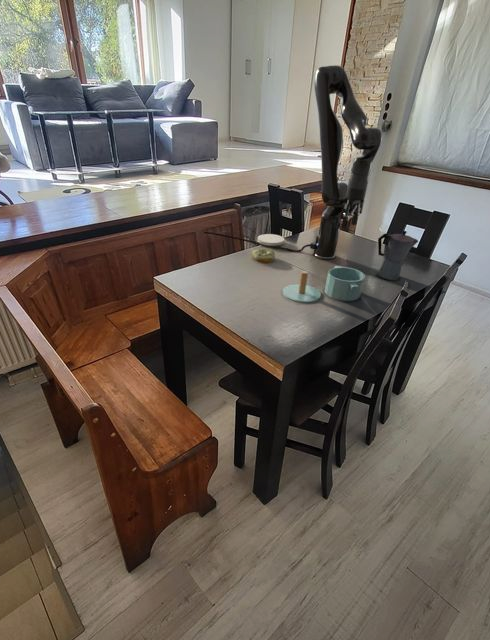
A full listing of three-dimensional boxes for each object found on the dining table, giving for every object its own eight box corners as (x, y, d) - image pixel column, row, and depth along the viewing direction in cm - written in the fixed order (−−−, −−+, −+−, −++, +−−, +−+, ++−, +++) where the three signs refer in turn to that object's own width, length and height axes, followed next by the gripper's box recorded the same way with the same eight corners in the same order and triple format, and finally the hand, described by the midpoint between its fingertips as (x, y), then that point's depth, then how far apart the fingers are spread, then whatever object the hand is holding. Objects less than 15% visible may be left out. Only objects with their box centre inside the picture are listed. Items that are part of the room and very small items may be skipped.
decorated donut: (253, 263, 167) (254, 255, 164) (251, 255, 175) (251, 247, 173) (276, 263, 167) (276, 255, 165) (272, 254, 176) (272, 247, 174)
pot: (333, 305, 135) (337, 285, 130) (318, 283, 150) (321, 264, 145) (368, 304, 136) (373, 284, 131) (349, 283, 151) (354, 264, 146)
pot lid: (287, 304, 135) (290, 280, 129) (278, 287, 147) (281, 264, 141) (325, 303, 136) (330, 279, 131) (314, 286, 148) (318, 264, 143)
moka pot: (408, 282, 153) (424, 235, 141) (370, 279, 155) (383, 232, 143) (403, 273, 160) (418, 228, 149) (367, 270, 163) (379, 225, 151)
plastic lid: (251, 243, 189) (252, 238, 188) (267, 236, 198) (268, 232, 196) (273, 249, 182) (273, 244, 180) (288, 243, 190) (289, 238, 189)
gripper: (357, 182, 150) (348, 221, 160) (340, 187, 142) (332, 228, 151) (374, 185, 146) (364, 225, 156) (357, 190, 138) (348, 232, 147)
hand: (348, 226), depth 153 cm, fingers open, 8 cm apart
